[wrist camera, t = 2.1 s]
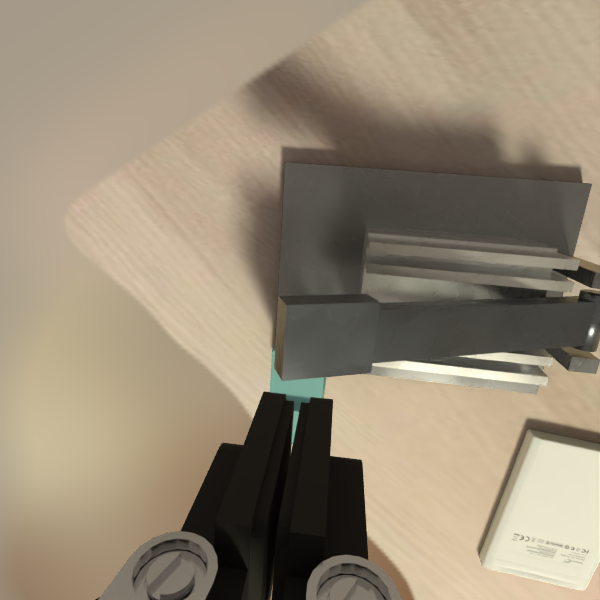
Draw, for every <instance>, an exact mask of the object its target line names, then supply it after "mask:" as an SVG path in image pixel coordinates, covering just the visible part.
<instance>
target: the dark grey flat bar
mask: <svg viewBox="0 0 600 600" xmlns="http://www.w3.org/2000/svg"><path fill="white" fill-rule="evenodd" d="M599 340H600V291H594V290H581V291H580V294H579V296H572V297H542V298H511V299H481V300H451V301H420V302H390V303H380V302H379V301H378V300H376V299H375V298H373V297H371V296H370V295H368V294H339V295H299V296H278V310H277V328H276V346H275V363H274V368H275V370H276V372H277V374H278V375H279V377H280V379H281V381H289V380H300V379H310V378H321V377H332V376H343V375H354V374H365V373H371V370H372V363H383V362H394V361H406V360H418V359H430V358H442V357H454V356H466V355H478V354H490V353H502V352H514V351H525V350H537V349H549V348H561V347H572V348H575V349H578V350H582V351H587V352H595V351H596V350H597V347H598V344H599Z"/></svg>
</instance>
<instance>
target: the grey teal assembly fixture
mask: <svg viewBox="0 0 600 600" xmlns="http://www.w3.org/2000/svg"><path fill="white" fill-rule="evenodd" d="M591 186H592V184H589V183H574V182H560V181H546V180H532V179H517V178H503V177H489V176H475V175H460V174H446V173H432V172H417V171H403V170H389V169H375V168H360V167H346V166H332V165H318V164H303V163H289V162H285V175H284V193H283V211H282V228H281V246H280V264H279V282H278V296H299V295H339V294H368V295H370V296H371V297H373V298H375V299H376V300H378V301H379V302H380V303H390V302H420V301H451V300H481V299H511V298H542V297H562V296H563V293H564V292H572V289H573V285H574V282H572V281H570V280H568V279H567V277H569V278H571V279H573V280H575V281H578V282H580V283H582V284H584V285H586V286H588V287H591V288H597V289H600V266H599V265H596V264H593V263H591V262H588V261H585V260H582V259H579V258H577V257H574V256H573V254H574V251H575V247H576V243H577V239H578V235H579V231H580V228H581V224H582V220H583V216H584V212H585V209H586V205H587V201H588V197H589V193H590V189H591ZM277 310H278V300H277ZM276 328H277V318H276ZM275 344H276V336H275ZM554 358H555V359H556V360H557V361H558V362H559V363H560V364H561V365H562V366H564V367H565V368H566V369H567V370H568V371H575V372H584V373H593V374H596V372H597V369H598V365H599V362H600V360H599V359H598V358H597V357H595V356H594V355H593V354H591V353H590V352H587V351H582V350H578V349H575V348H572V347H561V348H549V349H537V350H525V351H514V352H502V353H490V354H478V355H466V356H454V357H442V358H430V359H418V360H406V361H394V362H383V363H372V370H371V373H365V374H369V375H378V376H386V377H395V378H403V379H412V380H420V381H429V382H438V383H446V384H455V385H463V386H472V387H480V388H489V389H497V390H506V391H514V392H523V393H532V394H537V392H538V388H539V385H544V386H547V382H548V378H549V377H548V376H547V375H546V374H545V373H544V372H543V369H544V366H549V367H552V363H553V360H554Z"/></svg>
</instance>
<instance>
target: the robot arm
mask: <svg viewBox="0 0 600 600" xmlns="http://www.w3.org/2000/svg"><path fill="white" fill-rule="evenodd" d="M286 399H287V397H286V394H280V393H272V392H263V395H262V397H261V400H260V403H259V405H258V408H257V411H256V413H255V416H254V419H253V421H252V424H251V427H250V429H249V432H248V435H247V437H246V440H245V443H244V445H237V444H229V443H222V444H221V446H220V447H219V449H218V451H217V454H216V456H215V458H214V460H213V462H212V464H211V466H210V469H209V471H208V473H207V475H206V477H205V479H204V482H203V484H202V486H201V488H200V491H199V493H198V495H197V497H196V499H195V501H194V503H193V506H192V508H191V510H190V512H189V514H188V516H187V519H186V521H185V523H184V525H183V527H182V529H181V531H179V532H170V533H165V534H163V535H160V536H157V537H154V538H152V539H151V540H149V541H148V542H146V543H144V544H143V545H142V546H140V547H139V548H138V549H137V550H136V551H135V552H134V553H133V554H132V556H131V557H130V558H129V559H128V560H127V562H126V563H125V564H124V566H123V567H122V569H121V570H120V571H119V573H118V574H117V575H116V577H115V578H114V579H113V581H112V582H111V584H110V585H109V586H108V587H107V589H106V590H105V591H104V593H103V594H102V595H101V597H99V598H98V599H96V600H270V596H271V590H272V585H273V591H272V600H401V596H400V594H399V592H398V590H397V587H396V585H395V583H394V582H393V580H392V579H391V578H390V577H389V575H388V574H387V573H386V572H385V571H384V570H383V569H381V568H380V567H379V566H377V565H376V564H375V563H373V562H371V561H369V560H368V548H367V531H366V515H365V498H364V482H363V466H362V460H358V459H350V458H341V457H333V456H330V447H331V428H332V409H333V399H324V398H316V397H311V398H310V403H306V402H301V405H300V410H299V416H298V421H297V426H296V431H295V436H294V441H293V447H292V452H291V444H292V430H293V416H294V401H289V400H286Z"/></svg>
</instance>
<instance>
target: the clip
mask: <svg viewBox="0 0 600 600" xmlns="http://www.w3.org/2000/svg"><path fill="white" fill-rule="evenodd" d="M275 346H276V344H275ZM275 346H274V348H273V350H272V364H271V383H270V392H272V393H280V394H286V397H287V399H286V400H289V401H294V416H293V430H292V444H293V441H294V436H295V431H296V426H297V421H298V416H299V410H300V405H301V402H306V403H310V398H311V397H316V398H324V391H325V383H326V377H321V378H310V379H300V380H289V381H281V379H280V377H279V375H278V374H277V372H276V370H275V368H274V363H275Z"/></svg>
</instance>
